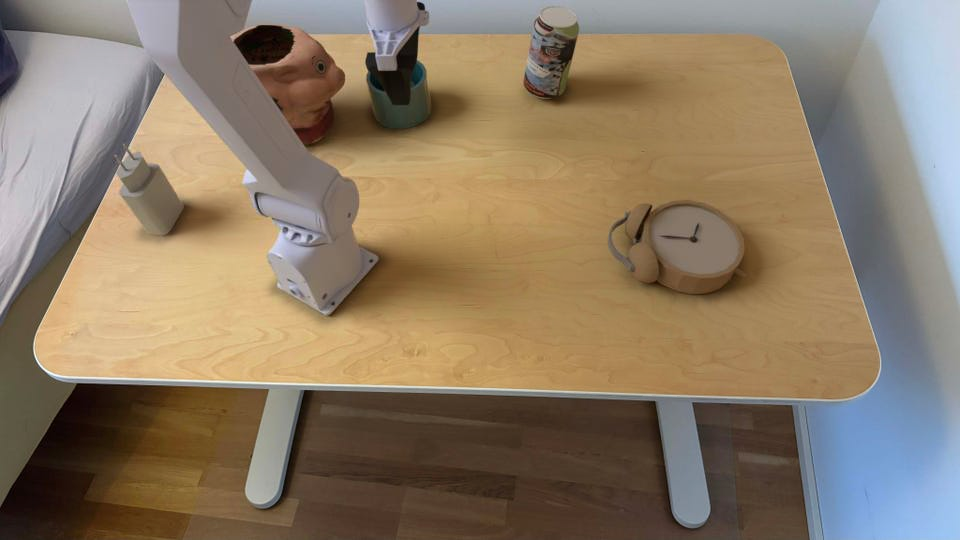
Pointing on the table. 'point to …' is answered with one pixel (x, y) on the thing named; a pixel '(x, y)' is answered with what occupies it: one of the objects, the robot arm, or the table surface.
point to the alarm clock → (681, 246)
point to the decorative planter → (294, 75)
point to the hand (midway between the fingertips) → (404, 82)
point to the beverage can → (551, 52)
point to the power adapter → (148, 194)
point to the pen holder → (401, 113)
